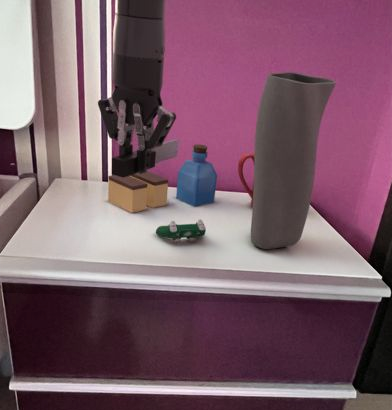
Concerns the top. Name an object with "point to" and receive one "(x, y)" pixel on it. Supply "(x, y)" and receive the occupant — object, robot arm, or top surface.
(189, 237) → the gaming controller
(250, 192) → the mug
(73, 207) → the top surface
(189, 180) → the perfume bottle
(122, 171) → the knife
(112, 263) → the top surface
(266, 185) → the vase
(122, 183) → the cake
